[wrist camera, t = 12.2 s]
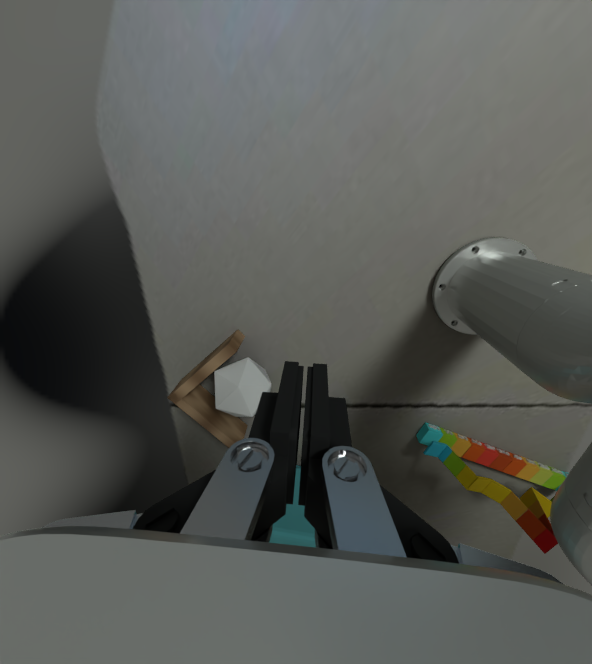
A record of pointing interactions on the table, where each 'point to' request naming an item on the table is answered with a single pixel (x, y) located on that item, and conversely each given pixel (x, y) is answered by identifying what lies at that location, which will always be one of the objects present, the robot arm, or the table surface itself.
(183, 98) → the table surface
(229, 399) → the die
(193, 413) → the bracket
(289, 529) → the radio
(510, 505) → the chart
